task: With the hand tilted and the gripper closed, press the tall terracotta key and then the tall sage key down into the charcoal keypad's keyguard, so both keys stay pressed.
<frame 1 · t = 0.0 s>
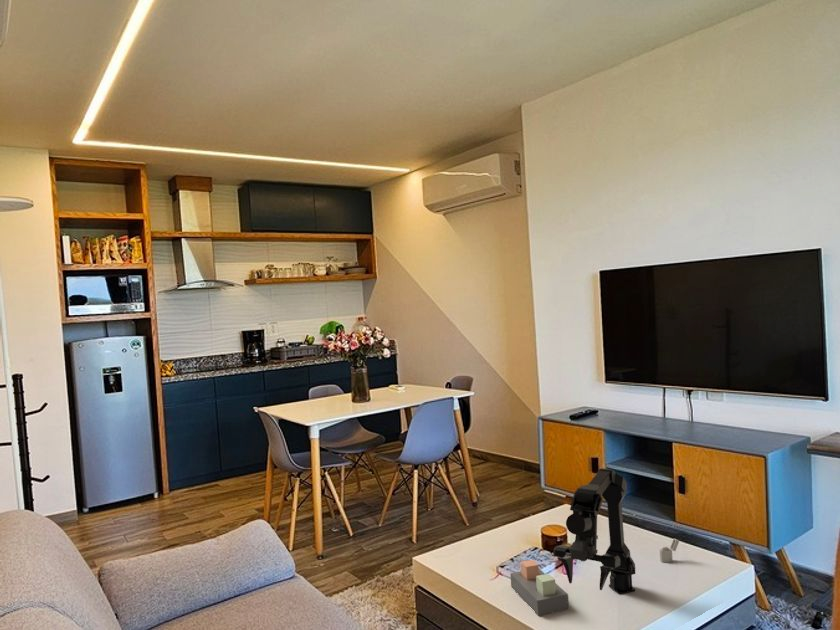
hand: (585, 586, 177), 15 cm above the table, tool pointing down, fingers open, 9 cm apart
terracotta key: (529, 571, 209), point 7 cm above the table, slide at 0.0 cm
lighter: (670, 561, 225), on the table
sage key: (545, 585, 197), point 7 cm above the table, slide at 0.0 cm
keypad: (538, 597, 203), on the table
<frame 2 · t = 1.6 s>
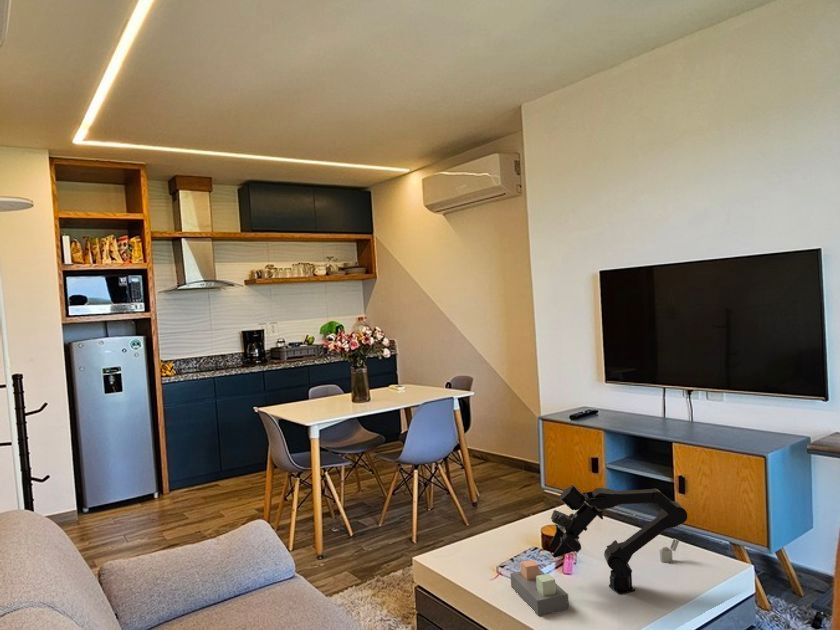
hand: (551, 551, 208), 13 cm above the table, tool tilted 45°, fingers open, 8 cm apart
nothing on the table moved.
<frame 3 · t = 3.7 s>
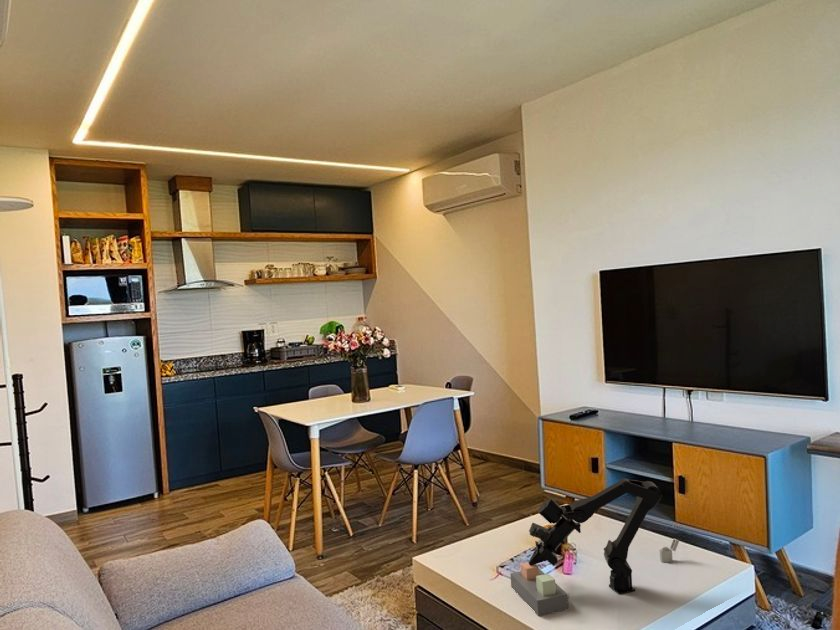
hand: (529, 564, 209), 9 cm above the table, tool tilted 45°, fingers closed, pressing on terracotta key
terracotta key: (530, 572, 209), point 6 cm above the table, slide at 0.7 cm, touching gripper
everything else where it was.
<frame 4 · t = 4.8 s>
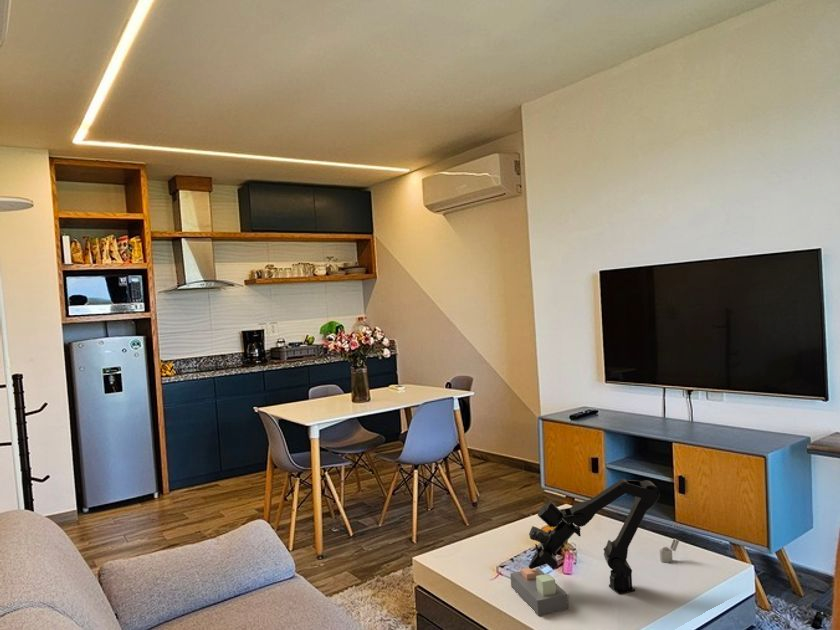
hand: (529, 567, 209), 8 cm above the table, tool tilted 45°, fingers closed
terracotta key: (530, 578, 209), point 4 cm above the table, slide at 2.6 cm
everything else where it was.
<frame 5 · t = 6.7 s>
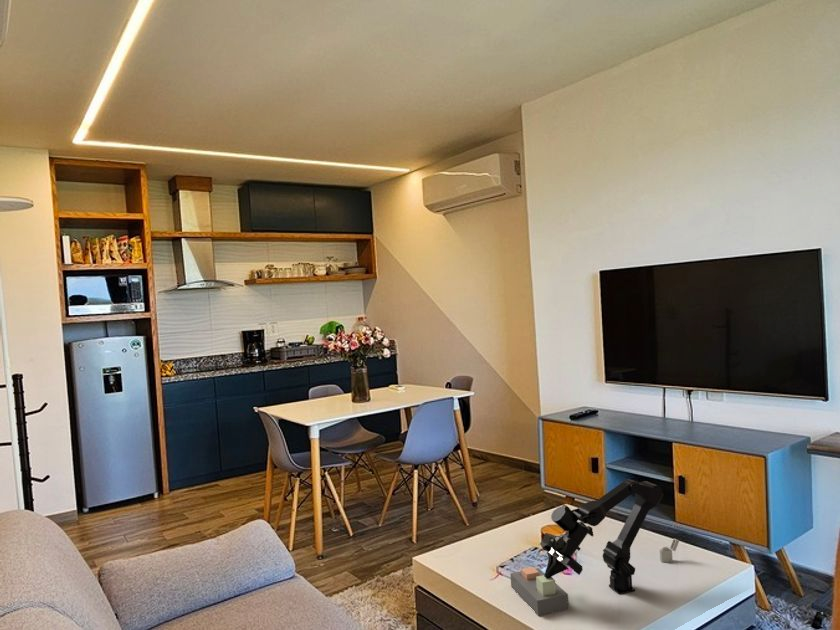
hand: (545, 577, 197), 10 cm above the table, tool tilted 45°, fingers closed, pressing on sage key
sage key: (546, 586, 197), point 7 cm above the table, slide at 0.2 cm, touching gripper
everything else where it was.
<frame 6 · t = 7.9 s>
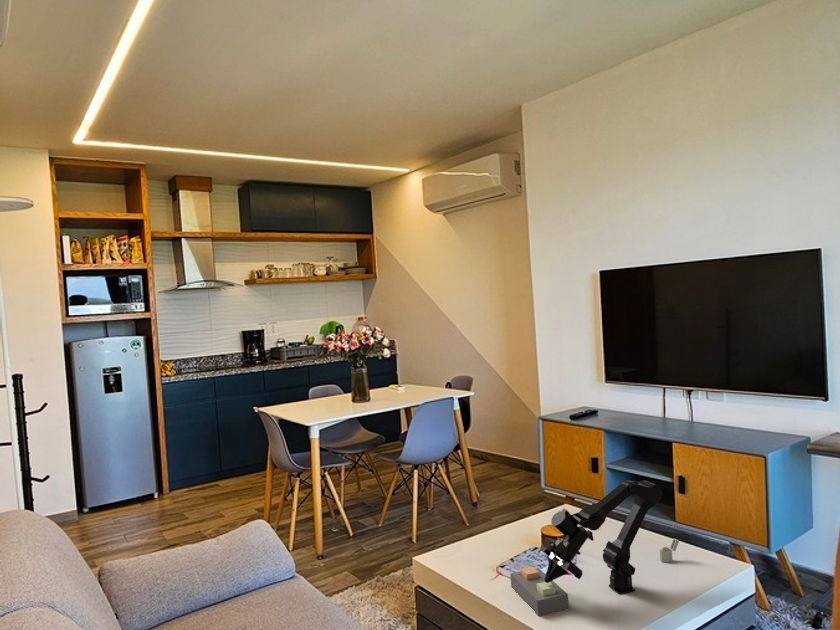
hand: (545, 582, 197), 8 cm above the table, tool tilted 45°, fingers closed
sage key: (546, 593, 197), point 4 cm above the table, slide at 2.6 cm
everything else where it was.
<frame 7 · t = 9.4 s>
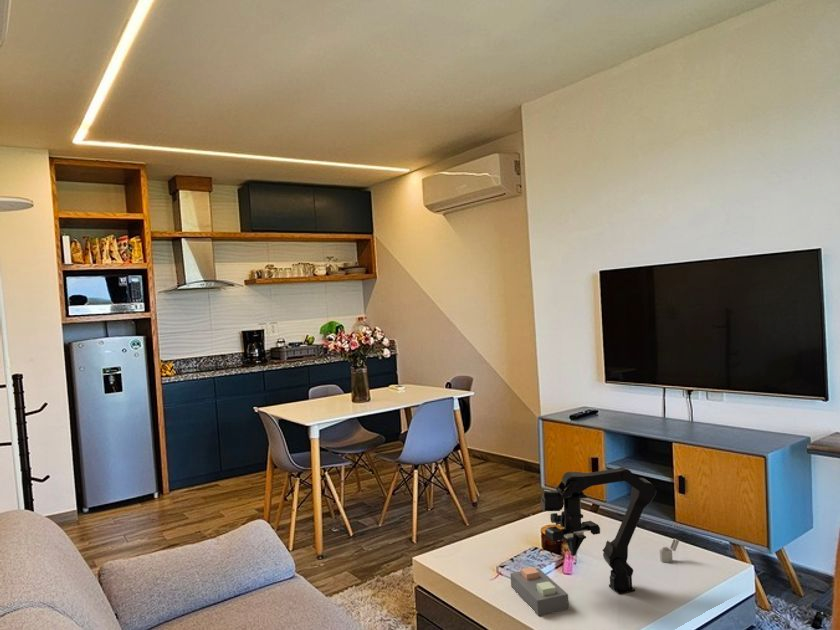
hand: (573, 555, 205), 13 cm above the table, tool pointing down, fingers closed
nothing on the table moved.
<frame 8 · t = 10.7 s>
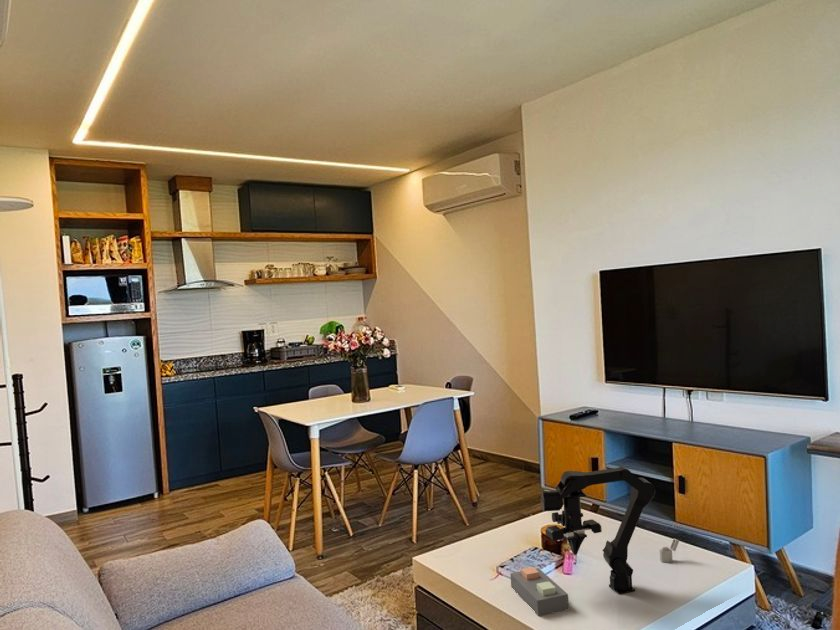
hand: (574, 554, 205), 13 cm above the table, tool pointing down, fingers closed
nothing on the table moved.
at the end: terracotta key slide at 2.6 cm; sage key slide at 2.6 cm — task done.
